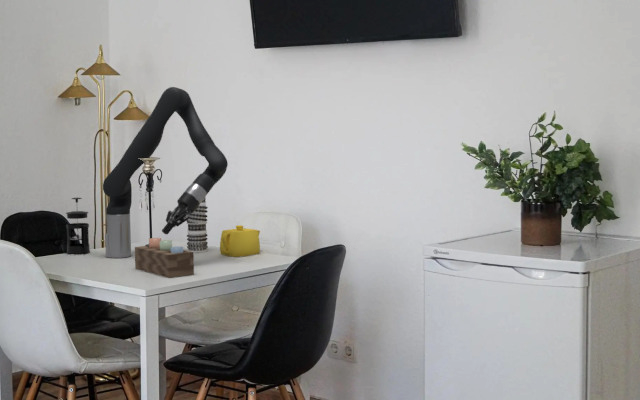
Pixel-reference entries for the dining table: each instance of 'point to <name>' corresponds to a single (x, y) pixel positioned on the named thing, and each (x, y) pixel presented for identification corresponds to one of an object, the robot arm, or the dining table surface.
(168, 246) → the sage button
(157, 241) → the terracotta button
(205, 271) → the dining table surface
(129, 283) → the dining table surface
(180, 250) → the blue button
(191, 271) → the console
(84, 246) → the french press
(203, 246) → the decorative candle
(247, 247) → the teapot
